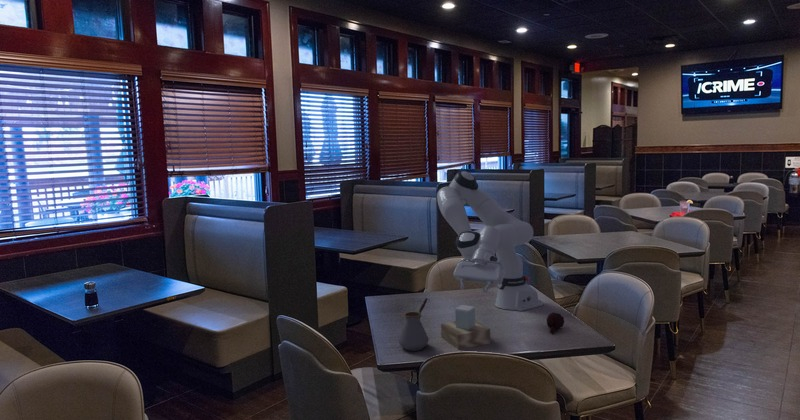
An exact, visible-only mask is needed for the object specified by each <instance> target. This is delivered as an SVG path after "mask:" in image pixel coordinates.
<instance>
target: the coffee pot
mask: <svg viewBox="0 0 800 420" xmlns="http://www.w3.org/2000/svg"><path fill="white" fill-rule="evenodd" d="M430 301H431V300H430V298H427V297H425V299H424V301H423V303H422V304H421V306H420V308H419V310H418V312H417V311H410V312H409V311H408V312H405V313H404V317H405V321H404V324H403V327H402V329H401V332H400V335H399V338H398V344H399V345H400V347H402V348H403V349H404V350H406V351H409V352H415V351H421V350H423V349H424V347H426V346H427V345H428V343H429V340H430V339H429V337H428V334H427V333H426V330H425V328H424V326H423V323H422V322H421V318H422V317H423V316H422V311H423V310H424V308H425V306H426V304H427V302H428V303H429V302H430Z"/></svg>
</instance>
